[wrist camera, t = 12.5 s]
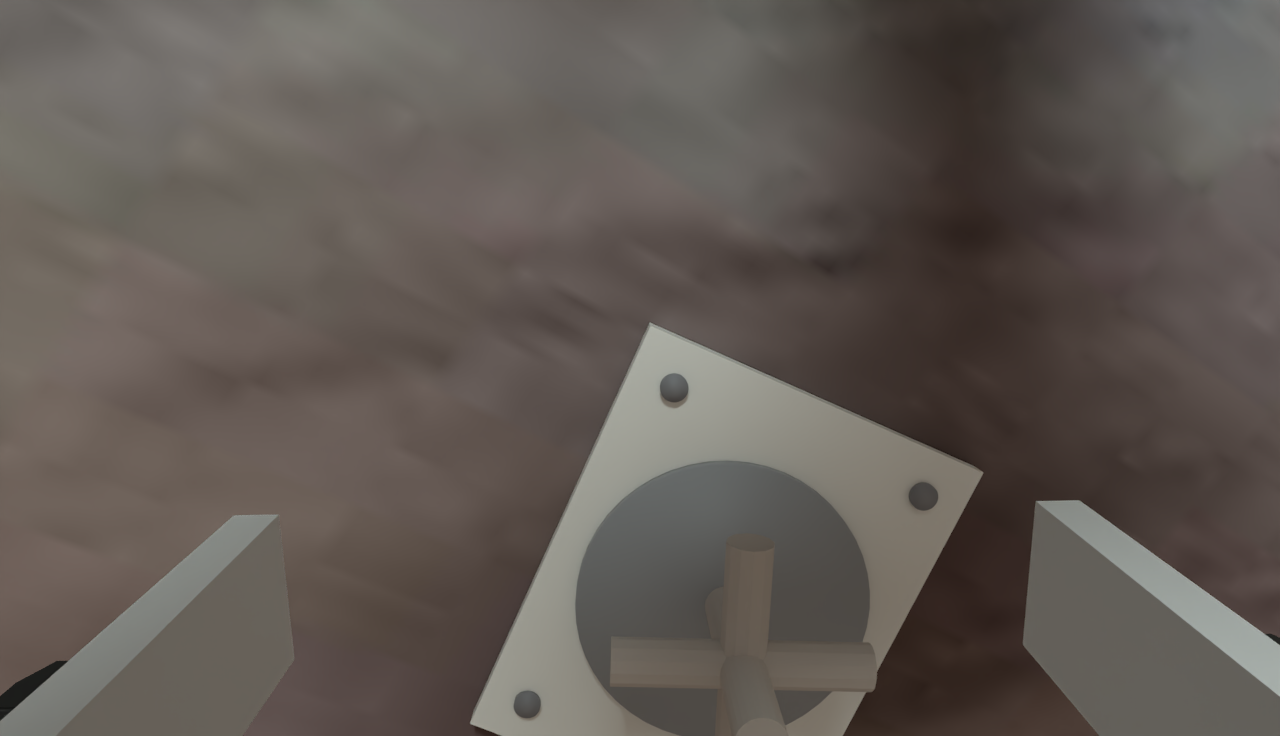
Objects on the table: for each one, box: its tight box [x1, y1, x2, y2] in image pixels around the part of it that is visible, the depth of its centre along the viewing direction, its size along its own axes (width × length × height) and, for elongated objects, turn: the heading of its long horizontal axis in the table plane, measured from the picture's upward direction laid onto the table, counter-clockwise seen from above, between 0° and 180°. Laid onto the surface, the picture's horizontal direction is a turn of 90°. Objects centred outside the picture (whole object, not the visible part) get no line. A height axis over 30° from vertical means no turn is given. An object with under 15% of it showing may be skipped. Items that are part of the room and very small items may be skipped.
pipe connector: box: [610, 533, 877, 736], centre depth 34 cm, size 10×10×10 cm
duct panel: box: [470, 323, 983, 736], centre depth 39 cm, size 20×16×2 cm
